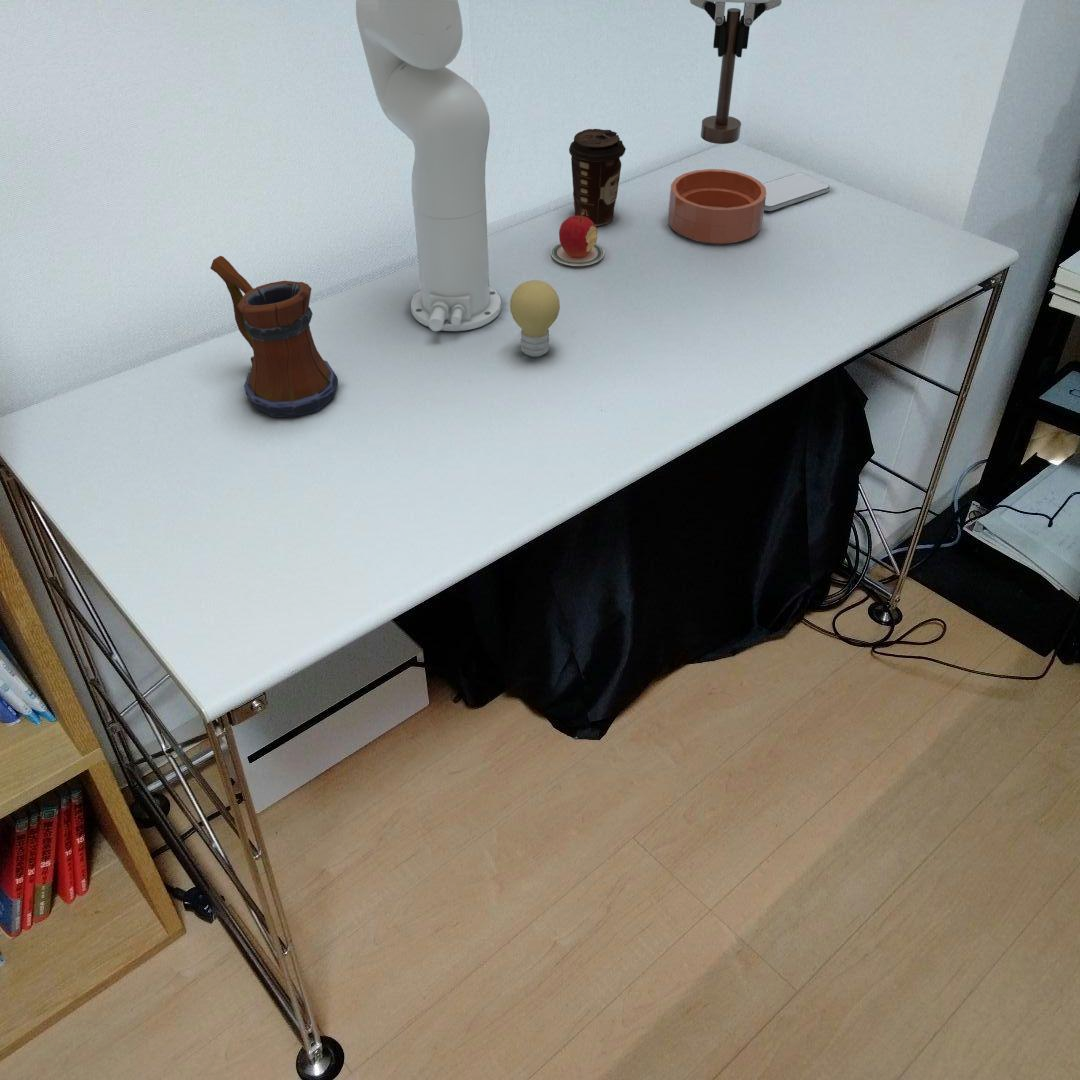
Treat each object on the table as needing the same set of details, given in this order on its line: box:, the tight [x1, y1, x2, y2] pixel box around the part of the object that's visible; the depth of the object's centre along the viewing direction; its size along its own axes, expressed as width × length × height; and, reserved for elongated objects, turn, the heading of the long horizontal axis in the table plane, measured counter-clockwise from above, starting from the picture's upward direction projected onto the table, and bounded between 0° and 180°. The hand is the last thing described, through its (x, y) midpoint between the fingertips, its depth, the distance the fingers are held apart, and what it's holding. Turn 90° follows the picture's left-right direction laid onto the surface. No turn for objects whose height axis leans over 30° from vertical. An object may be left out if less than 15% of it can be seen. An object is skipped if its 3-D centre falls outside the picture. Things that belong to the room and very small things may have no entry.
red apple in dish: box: [550, 212, 605, 267], centre depth 155 cm, size 8×8×6 cm
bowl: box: [667, 168, 766, 245], centre depth 162 cm, size 15×15×6 cm
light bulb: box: [509, 279, 561, 358], centre depth 134 cm, size 6×6×10 cm
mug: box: [210, 255, 339, 418], centre depth 127 cm, size 18×12×15 cm, turn 45°
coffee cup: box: [568, 128, 627, 227], centre depth 162 cm, size 9×8×13 cm
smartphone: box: [762, 172, 830, 212], centre depth 172 cm, size 7×1×15 cm
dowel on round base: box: [700, 7, 742, 145], centre depth 145 cm, size 6×6×17 cm
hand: (729, 52), depth 143 cm, fingers closed on dowel on round base
